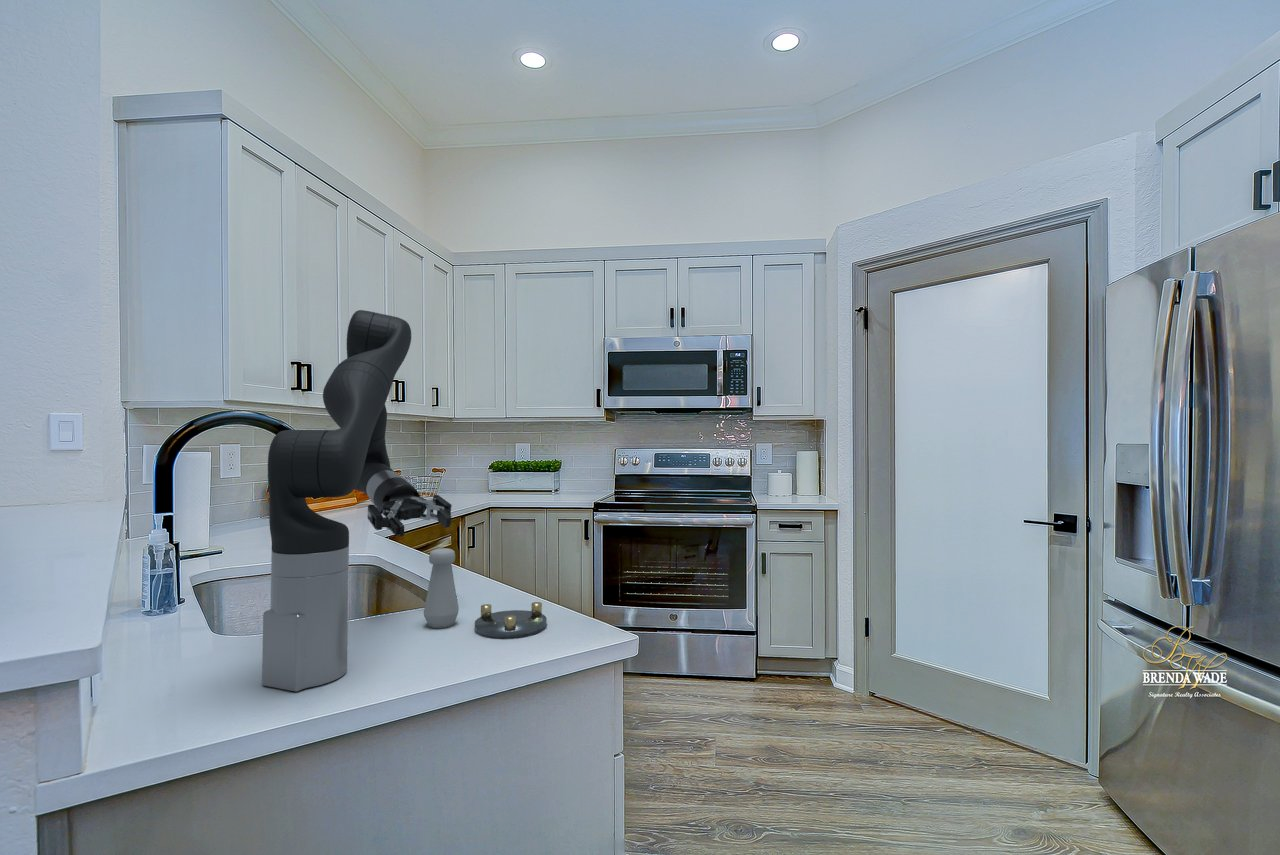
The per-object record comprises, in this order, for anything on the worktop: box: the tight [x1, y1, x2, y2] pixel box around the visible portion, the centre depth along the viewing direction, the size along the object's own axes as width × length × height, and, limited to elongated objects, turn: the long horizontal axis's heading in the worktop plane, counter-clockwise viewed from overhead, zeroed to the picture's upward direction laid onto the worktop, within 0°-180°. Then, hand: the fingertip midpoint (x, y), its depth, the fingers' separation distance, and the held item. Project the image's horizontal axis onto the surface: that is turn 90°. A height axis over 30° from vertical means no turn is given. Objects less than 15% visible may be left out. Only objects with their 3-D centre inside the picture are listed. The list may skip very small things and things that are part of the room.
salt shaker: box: [423, 547, 460, 629], centre depth 104 cm, size 6×6×13 cm
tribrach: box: [474, 601, 548, 640], centre depth 103 cm, size 12×12×3 cm
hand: (425, 527), depth 109 cm, fingers open, 8 cm apart
